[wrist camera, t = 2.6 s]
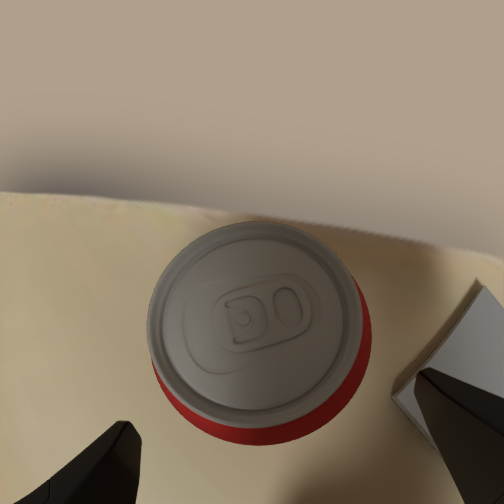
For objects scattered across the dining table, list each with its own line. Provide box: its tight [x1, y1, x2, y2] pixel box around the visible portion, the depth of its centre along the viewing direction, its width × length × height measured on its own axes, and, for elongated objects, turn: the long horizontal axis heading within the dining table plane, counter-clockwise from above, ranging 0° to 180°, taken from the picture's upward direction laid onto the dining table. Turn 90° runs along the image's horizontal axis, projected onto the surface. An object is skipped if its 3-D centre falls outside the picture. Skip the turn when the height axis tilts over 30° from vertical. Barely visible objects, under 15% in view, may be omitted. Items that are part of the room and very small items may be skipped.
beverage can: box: [147, 221, 372, 446], centre depth 12 cm, size 7×7×12 cm
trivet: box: [391, 285, 504, 455], centre depth 13 cm, size 11×11×1 cm
